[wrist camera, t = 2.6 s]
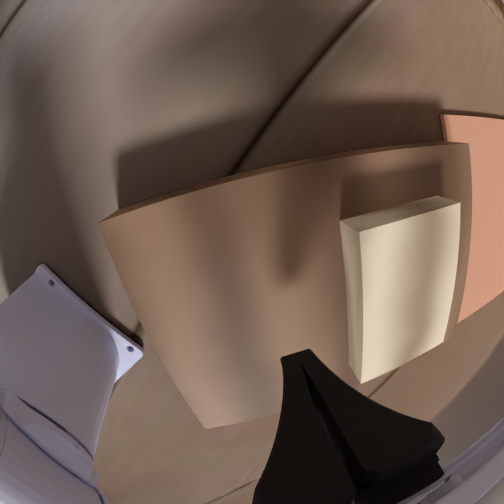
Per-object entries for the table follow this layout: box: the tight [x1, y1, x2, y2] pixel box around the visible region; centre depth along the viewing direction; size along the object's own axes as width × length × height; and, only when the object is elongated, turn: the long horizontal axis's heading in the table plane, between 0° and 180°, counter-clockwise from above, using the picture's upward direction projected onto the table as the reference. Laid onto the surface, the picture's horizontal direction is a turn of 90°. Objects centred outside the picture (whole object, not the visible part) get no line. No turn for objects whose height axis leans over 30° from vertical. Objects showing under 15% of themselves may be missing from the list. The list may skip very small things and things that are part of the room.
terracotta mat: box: [440, 115, 504, 323], centre depth 18 cm, size 18×20×1 cm
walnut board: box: [99, 141, 472, 429], centre depth 16 cm, size 22×16×3 cm
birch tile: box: [339, 196, 460, 384], centre depth 14 cm, size 7×10×2 cm
